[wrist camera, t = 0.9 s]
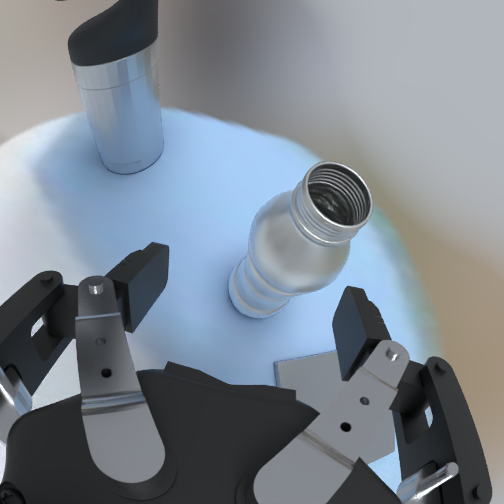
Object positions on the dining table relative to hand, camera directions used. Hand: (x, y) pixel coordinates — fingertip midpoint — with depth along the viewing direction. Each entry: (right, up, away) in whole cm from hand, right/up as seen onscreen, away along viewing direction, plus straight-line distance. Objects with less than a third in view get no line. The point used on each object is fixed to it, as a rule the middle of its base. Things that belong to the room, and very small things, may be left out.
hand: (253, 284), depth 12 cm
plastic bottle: (0, -3, +18) cm, 19 cm away
